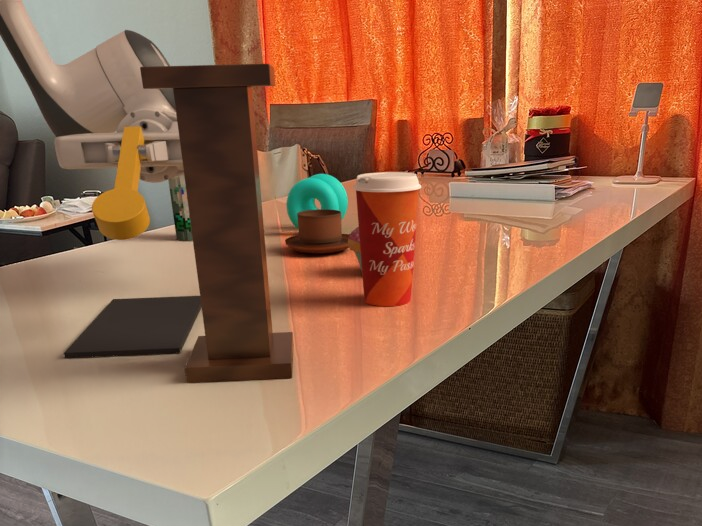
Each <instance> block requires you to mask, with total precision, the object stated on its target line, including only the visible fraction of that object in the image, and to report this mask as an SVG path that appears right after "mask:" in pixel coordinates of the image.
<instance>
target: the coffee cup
mask: <svg viewBox="0 0 702 526" xmlns="http://www.w3.org/2000/svg"><path fill="white" fill-rule="evenodd" d="M352 189H353V190H354V191H355V194H356V195H355V196H356V211H357V221H358V222H357V223H358V226H359V238H360V251H361V264H362V271H361V274H362V276H361V277H362V286H363V287H362V288H363V296H364V302H365V303H366V304H367V305H371V306H375V307H376V306H377V307H397V306H403V305H407V304H408V303H410V302H411V297H412V289H413V279H414V278H413V277H414V263H415V251H416V235H417V222H418V221H417V220H418V205H419V190H420V189H422V185H421V184H420V181H419V178H418V176H417V174H416V173H413V172H403V171H384V172H368V173H361V174H358V175H357V176H356V181H355V185H353V188H352Z"/></svg>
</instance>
